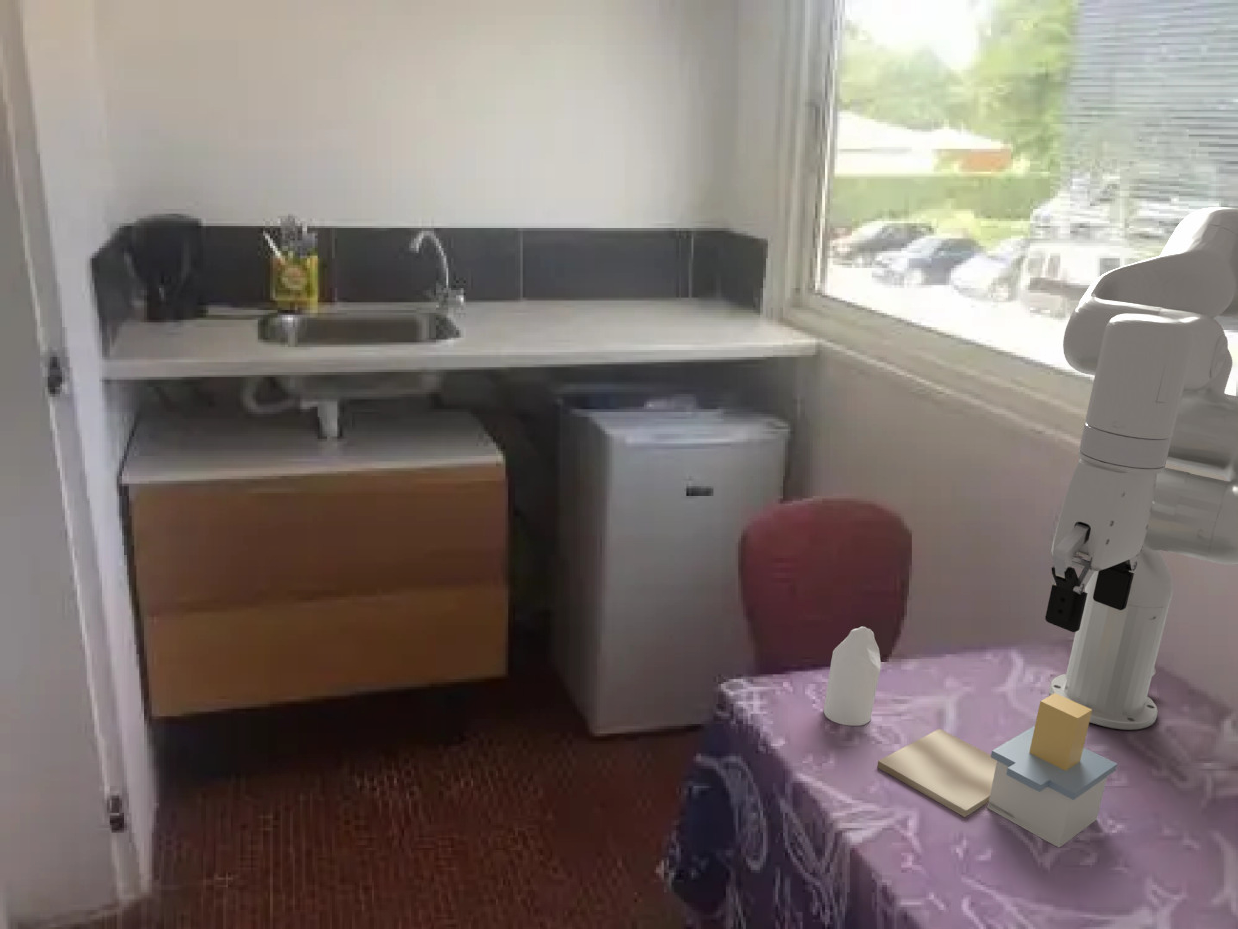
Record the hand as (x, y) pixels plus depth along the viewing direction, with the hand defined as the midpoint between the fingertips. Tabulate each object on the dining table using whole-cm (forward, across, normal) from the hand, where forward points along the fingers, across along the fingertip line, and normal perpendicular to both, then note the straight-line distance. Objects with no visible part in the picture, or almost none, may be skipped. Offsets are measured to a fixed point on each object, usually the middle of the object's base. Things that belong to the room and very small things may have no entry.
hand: (1085, 615), depth 106 cm
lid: (+17, -1, 0) cm, 17 cm away
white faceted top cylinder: (+23, 0, -25) cm, 34 cm away
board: (+23, +1, -10) cm, 25 cm away
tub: (+23, -1, 0) cm, 23 cm away
